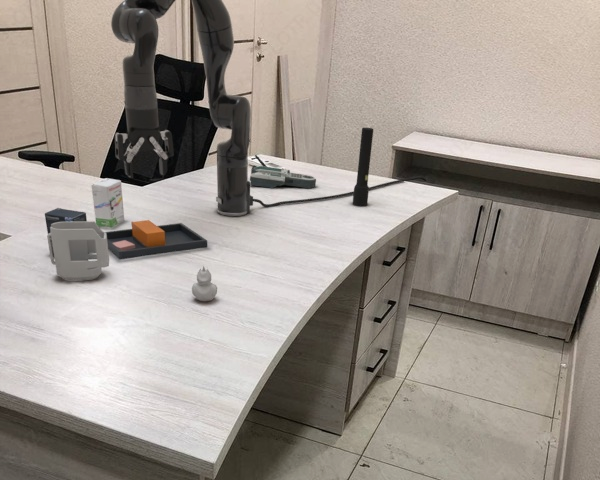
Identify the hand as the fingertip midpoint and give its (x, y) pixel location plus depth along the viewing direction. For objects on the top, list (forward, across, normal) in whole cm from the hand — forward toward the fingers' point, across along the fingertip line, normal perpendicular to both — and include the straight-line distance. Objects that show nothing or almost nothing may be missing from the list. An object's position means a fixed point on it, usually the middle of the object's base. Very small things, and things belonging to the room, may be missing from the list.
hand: (147, 175), depth 157 cm
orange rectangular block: (+16, -2, -3) cm, 17 cm away
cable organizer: (+17, -23, -17) cm, 33 cm away
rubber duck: (+17, -4, -40) cm, 44 cm away
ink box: (+18, -5, +20) cm, 27 cm away
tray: (+17, -1, -2) cm, 17 cm away
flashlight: (+18, +78, +10) cm, 81 cm away
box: (+17, -22, -1) cm, 28 cm away
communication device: (+19, +67, +42) cm, 82 cm away
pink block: (+16, -9, -3) cm, 19 cm away
